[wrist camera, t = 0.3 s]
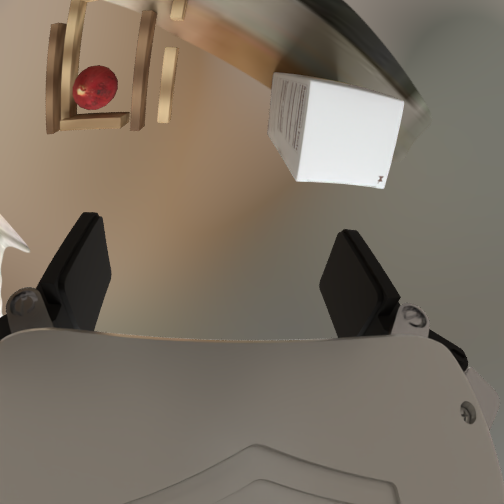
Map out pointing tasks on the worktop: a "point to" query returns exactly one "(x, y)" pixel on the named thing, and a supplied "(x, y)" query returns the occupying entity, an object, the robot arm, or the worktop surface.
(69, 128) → the tan frame
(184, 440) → the robot arm
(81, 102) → the onion
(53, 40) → the lane rails
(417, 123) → the worktop surface
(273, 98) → the supplement box
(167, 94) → the broken strip
